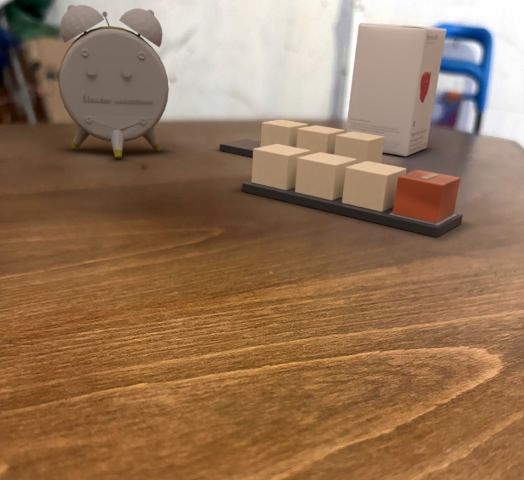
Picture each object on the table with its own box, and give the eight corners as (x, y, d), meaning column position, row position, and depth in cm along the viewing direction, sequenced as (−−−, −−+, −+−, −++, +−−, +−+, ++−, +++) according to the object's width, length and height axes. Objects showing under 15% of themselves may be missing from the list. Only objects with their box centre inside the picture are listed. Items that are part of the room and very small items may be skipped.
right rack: (274, 182, 69) (277, 142, 67) (461, 223, 59) (470, 178, 57) (241, 191, 64) (243, 148, 63) (436, 237, 55) (445, 188, 53)
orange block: (411, 205, 60) (417, 168, 58) (453, 214, 58) (461, 176, 56) (391, 213, 57) (397, 175, 55) (436, 223, 55) (443, 184, 53)
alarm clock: (165, 149, 81) (164, 9, 74) (171, 161, 75) (170, 10, 68) (65, 147, 78) (54, 2, 71) (62, 159, 72) (51, 3, 65)
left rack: (246, 145, 86) (248, 112, 84) (387, 172, 76) (392, 136, 74) (219, 150, 82) (220, 116, 80) (364, 180, 72) (369, 142, 70)
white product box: (407, 158, 84) (427, 27, 78) (342, 147, 88) (356, 22, 81) (428, 148, 92) (449, 27, 85) (368, 139, 95) (382, 23, 89)
